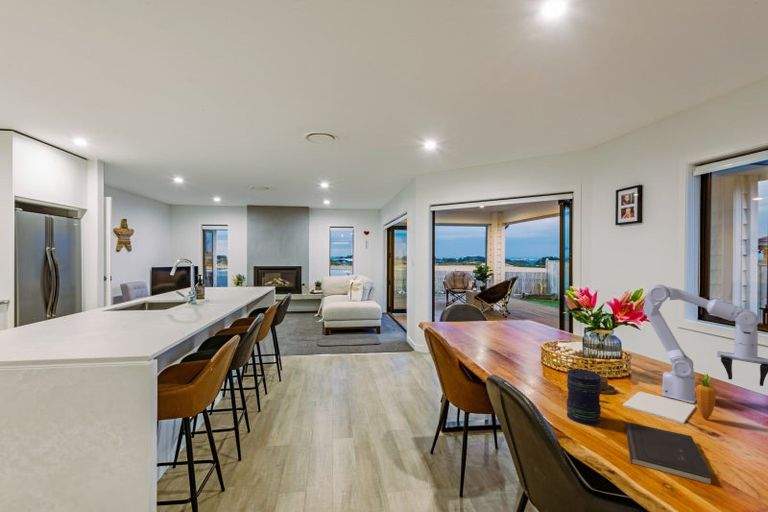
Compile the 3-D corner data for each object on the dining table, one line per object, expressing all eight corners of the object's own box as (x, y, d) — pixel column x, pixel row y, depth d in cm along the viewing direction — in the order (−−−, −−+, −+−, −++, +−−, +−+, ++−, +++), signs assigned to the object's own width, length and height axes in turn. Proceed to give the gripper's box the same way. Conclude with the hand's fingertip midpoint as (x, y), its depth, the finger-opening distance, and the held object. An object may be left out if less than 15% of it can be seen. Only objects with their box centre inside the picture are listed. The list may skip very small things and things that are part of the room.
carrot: (709, 423, 113) (709, 378, 113) (691, 417, 118) (692, 373, 118) (719, 422, 114) (720, 376, 114) (702, 415, 119) (702, 371, 119)
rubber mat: (622, 405, 126) (622, 404, 126) (639, 392, 139) (639, 391, 139) (683, 423, 113) (683, 422, 113) (695, 407, 126) (695, 405, 126)
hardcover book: (691, 443, 102) (691, 435, 102) (713, 487, 82) (713, 478, 82) (625, 428, 110) (625, 421, 110) (630, 465, 91) (630, 456, 91)
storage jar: (600, 416, 118) (600, 363, 118) (601, 428, 109) (601, 371, 109) (567, 409, 123) (567, 358, 123) (565, 420, 114) (566, 366, 114)
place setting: (629, 396, 136) (629, 381, 136) (592, 403, 129) (592, 387, 129) (589, 381, 152) (589, 367, 152) (554, 386, 146) (554, 372, 146)
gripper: (777, 346, 119) (777, 385, 119) (719, 338, 131) (719, 374, 131) (775, 349, 115) (775, 390, 115) (715, 340, 127) (715, 377, 127)
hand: (745, 382), depth 123 cm, fingers open, 7 cm apart
